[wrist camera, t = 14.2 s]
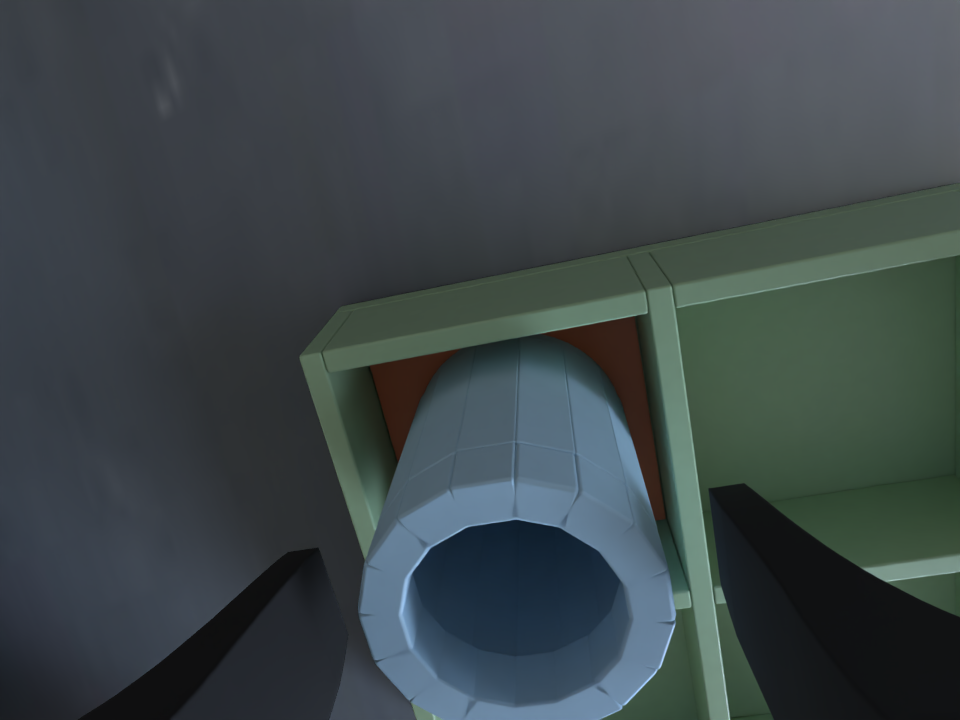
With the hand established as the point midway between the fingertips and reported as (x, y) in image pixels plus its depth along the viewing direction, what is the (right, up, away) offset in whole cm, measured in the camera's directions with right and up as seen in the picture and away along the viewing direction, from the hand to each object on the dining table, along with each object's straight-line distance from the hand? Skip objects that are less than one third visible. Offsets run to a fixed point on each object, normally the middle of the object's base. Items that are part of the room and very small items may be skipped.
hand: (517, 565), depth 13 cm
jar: (0, +2, +5) cm, 6 cm away
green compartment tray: (+5, 0, +7) cm, 8 cm away
